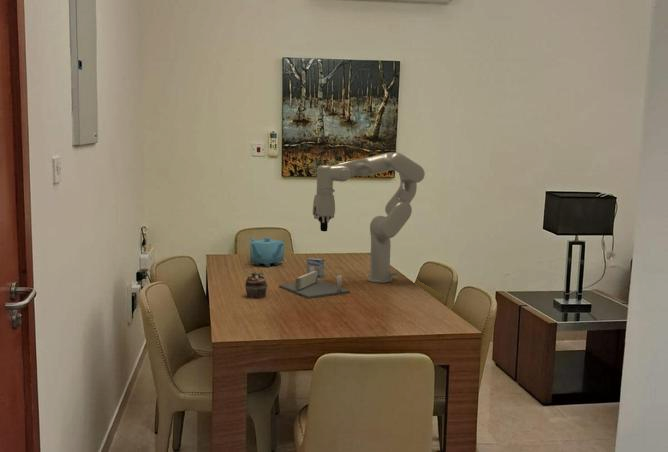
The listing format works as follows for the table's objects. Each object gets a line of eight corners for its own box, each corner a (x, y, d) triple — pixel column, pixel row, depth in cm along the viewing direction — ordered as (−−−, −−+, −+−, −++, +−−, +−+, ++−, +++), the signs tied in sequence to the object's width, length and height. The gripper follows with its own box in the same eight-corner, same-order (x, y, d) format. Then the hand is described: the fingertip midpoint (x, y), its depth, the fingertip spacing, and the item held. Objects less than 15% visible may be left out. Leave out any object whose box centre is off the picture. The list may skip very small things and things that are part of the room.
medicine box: (306, 275, 320) (306, 258, 319) (309, 274, 324) (310, 257, 323) (320, 277, 317) (320, 260, 316) (324, 275, 321) (324, 258, 320)
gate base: (319, 282, 306) (319, 265, 305) (349, 292, 286) (350, 275, 285) (279, 287, 294) (279, 269, 293) (308, 298, 274) (308, 280, 273)
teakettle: (282, 261, 357) (282, 235, 356) (285, 267, 339) (285, 240, 337) (248, 261, 354) (248, 235, 352) (249, 268, 336) (249, 240, 334)
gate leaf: (317, 281, 301) (318, 271, 300) (299, 289, 283) (299, 278, 283) (314, 281, 302) (314, 270, 301) (295, 289, 284) (295, 278, 283)
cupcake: (241, 297, 273) (241, 274, 272) (251, 292, 283) (251, 270, 281) (261, 299, 270) (261, 276, 269) (271, 294, 279) (271, 272, 278)
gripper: (333, 191, 306) (332, 229, 308) (306, 191, 297) (306, 230, 300) (342, 192, 299) (341, 231, 302) (315, 193, 291) (314, 233, 293)
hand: (323, 230), depth 301 cm, fingers closed
